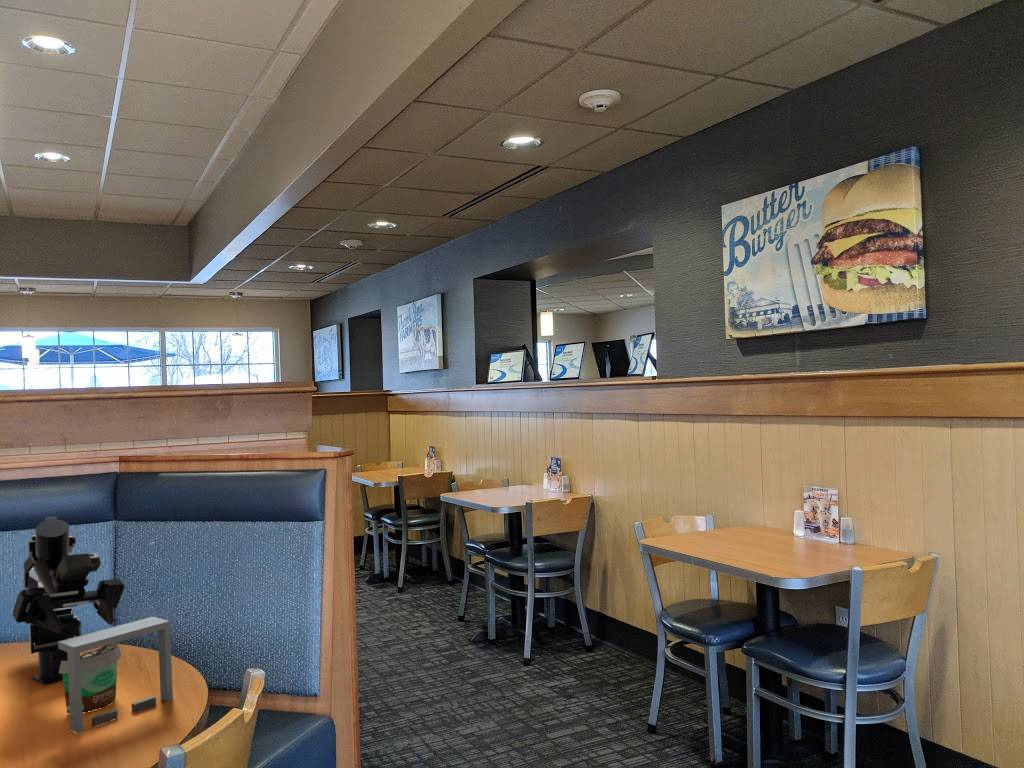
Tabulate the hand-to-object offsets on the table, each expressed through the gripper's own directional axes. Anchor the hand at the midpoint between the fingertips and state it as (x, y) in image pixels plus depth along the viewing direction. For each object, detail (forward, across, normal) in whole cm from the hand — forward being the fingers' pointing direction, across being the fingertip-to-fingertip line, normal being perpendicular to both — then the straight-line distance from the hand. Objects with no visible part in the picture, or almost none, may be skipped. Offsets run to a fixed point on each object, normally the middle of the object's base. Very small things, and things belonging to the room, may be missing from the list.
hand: (87, 626), depth 147 cm
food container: (+10, +2, +11) cm, 15 cm away
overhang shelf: (+16, +2, +7) cm, 17 cm away
